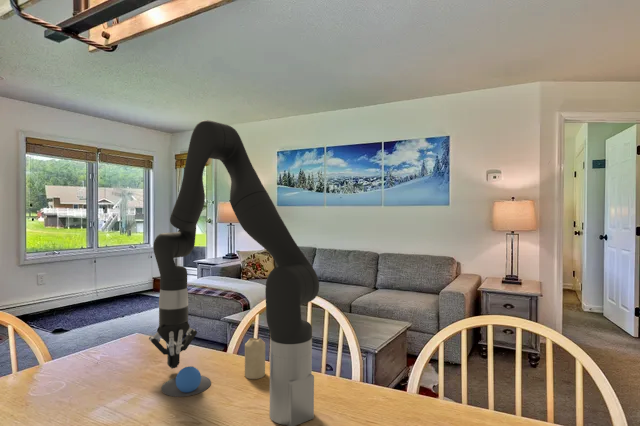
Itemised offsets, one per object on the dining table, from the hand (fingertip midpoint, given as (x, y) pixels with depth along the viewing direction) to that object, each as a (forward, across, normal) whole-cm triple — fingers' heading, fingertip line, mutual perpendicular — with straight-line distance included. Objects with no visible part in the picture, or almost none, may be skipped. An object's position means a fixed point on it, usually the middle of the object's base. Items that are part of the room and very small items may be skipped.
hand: (173, 367), depth 109 cm
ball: (-2, -1, -14) cm, 14 cm away
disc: (+2, 0, -10) cm, 10 cm away
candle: (+2, +17, -15) cm, 23 cm away
